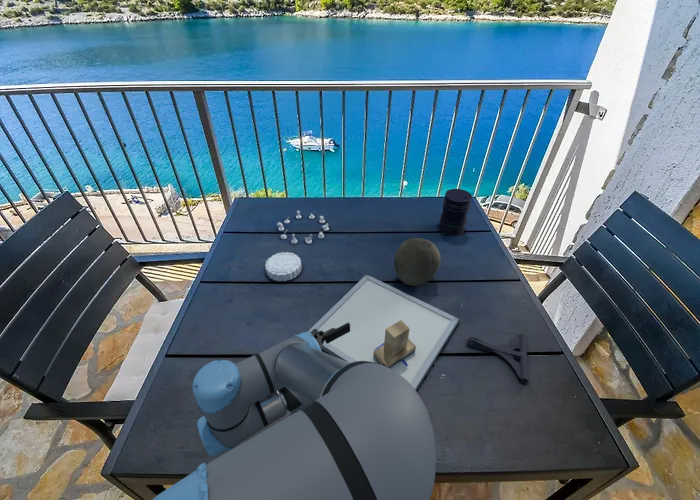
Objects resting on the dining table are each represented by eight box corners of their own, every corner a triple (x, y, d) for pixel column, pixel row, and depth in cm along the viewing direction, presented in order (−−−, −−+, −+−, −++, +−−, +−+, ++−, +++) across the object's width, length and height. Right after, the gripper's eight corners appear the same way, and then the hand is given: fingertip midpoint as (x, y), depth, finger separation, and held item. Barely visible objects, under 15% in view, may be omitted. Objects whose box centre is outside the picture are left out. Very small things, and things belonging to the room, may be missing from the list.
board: (407, 404, 82) (408, 400, 80) (305, 338, 96) (304, 334, 95) (457, 323, 100) (459, 318, 99) (366, 278, 115) (366, 274, 114)
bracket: (469, 324, 100) (471, 317, 99) (525, 338, 96) (528, 332, 95) (464, 365, 90) (466, 359, 88) (526, 383, 86) (530, 377, 84)
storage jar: (434, 229, 138) (440, 195, 128) (446, 218, 143) (452, 186, 134) (457, 238, 133) (465, 204, 123) (468, 227, 138) (477, 194, 129)
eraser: (385, 371, 87) (387, 345, 80) (373, 356, 90) (374, 330, 83) (415, 352, 91) (420, 326, 84) (402, 339, 94) (406, 313, 88)
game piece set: (269, 239, 132) (268, 230, 130) (291, 212, 147) (290, 204, 145) (317, 248, 128) (316, 240, 126) (335, 219, 143) (334, 211, 141)
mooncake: (261, 280, 115) (259, 272, 112) (272, 257, 124) (270, 249, 122) (297, 283, 113) (296, 275, 111) (305, 259, 123) (304, 251, 121)
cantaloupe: (431, 299, 108) (439, 262, 99) (387, 288, 112) (391, 251, 102) (438, 270, 118) (446, 235, 109) (398, 261, 122) (402, 226, 113)
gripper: (259, 361, 81) (337, 321, 90) (311, 459, 64) (399, 398, 74) (254, 341, 76) (336, 301, 85) (308, 441, 60) (403, 378, 69)
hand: (365, 346), depth 79 cm, fingers open, 13 cm apart
